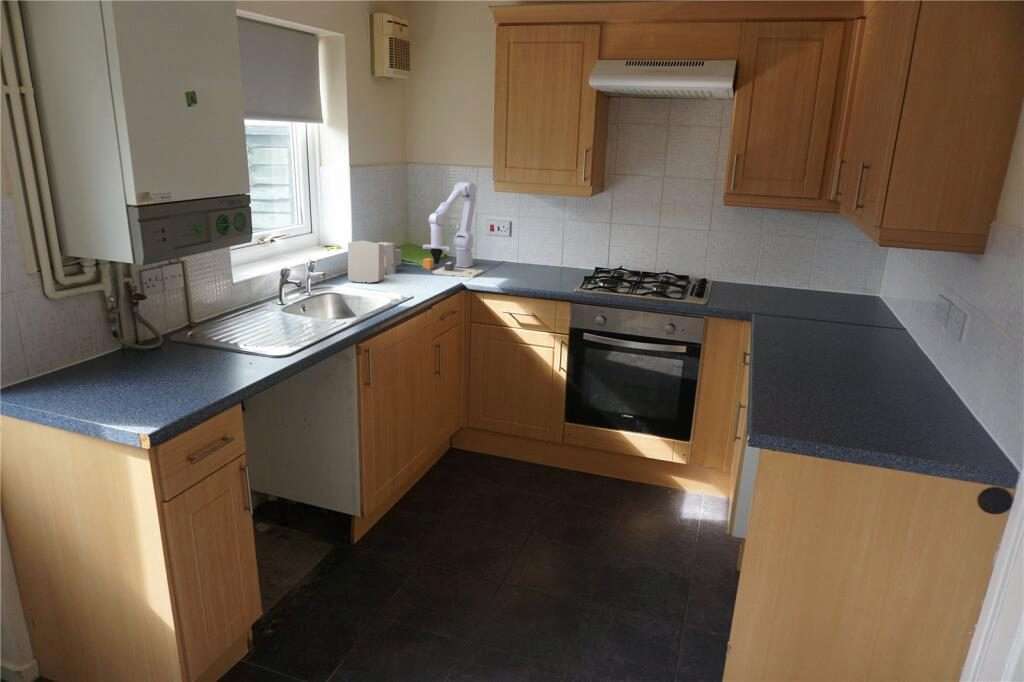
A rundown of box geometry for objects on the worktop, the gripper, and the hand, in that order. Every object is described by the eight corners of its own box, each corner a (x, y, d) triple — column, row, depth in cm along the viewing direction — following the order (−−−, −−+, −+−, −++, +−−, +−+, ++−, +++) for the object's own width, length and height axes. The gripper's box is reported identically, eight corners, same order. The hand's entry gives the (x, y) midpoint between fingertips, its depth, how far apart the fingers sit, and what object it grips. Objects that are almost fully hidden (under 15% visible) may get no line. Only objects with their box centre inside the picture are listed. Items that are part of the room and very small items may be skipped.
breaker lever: (448, 267, 351) (448, 261, 350) (453, 268, 350) (453, 262, 349) (444, 269, 347) (444, 263, 346) (449, 270, 346) (449, 263, 345)
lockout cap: (426, 267, 359) (426, 258, 358) (433, 268, 358) (433, 258, 357) (422, 268, 356) (422, 259, 354) (429, 269, 354) (429, 260, 353)
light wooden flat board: (444, 268, 357) (444, 265, 356) (483, 272, 350) (483, 269, 350) (432, 273, 344) (432, 270, 344) (472, 277, 338) (472, 274, 337)
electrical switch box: (387, 282, 333) (387, 240, 330) (378, 284, 318) (378, 240, 315) (357, 280, 334) (358, 239, 331) (347, 282, 319) (348, 239, 316)
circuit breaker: (404, 271, 349) (403, 241, 344) (385, 275, 337) (384, 245, 333) (392, 269, 352) (392, 240, 348) (373, 273, 341) (372, 243, 336)
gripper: (420, 237, 344) (420, 263, 348) (446, 239, 340) (446, 266, 344) (426, 235, 351) (426, 261, 355) (452, 237, 346) (452, 263, 350)
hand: (436, 263), depth 350 cm, fingers closed
